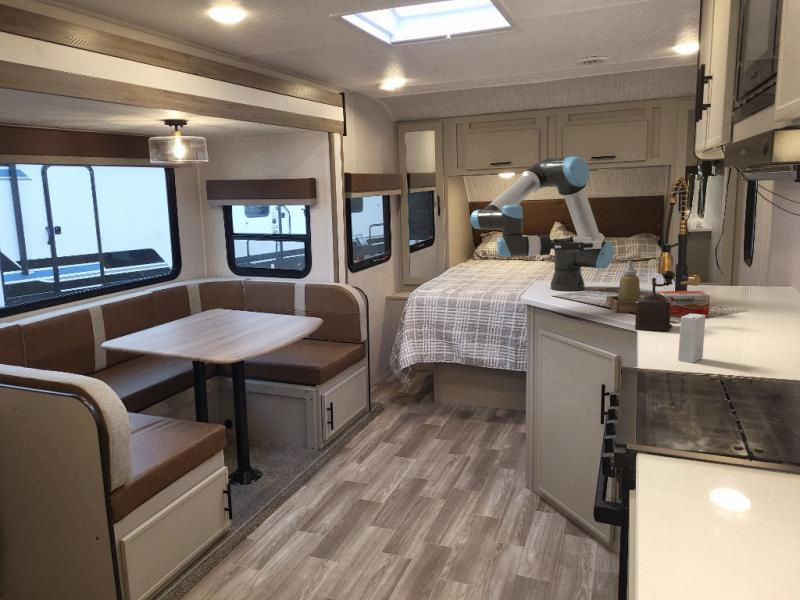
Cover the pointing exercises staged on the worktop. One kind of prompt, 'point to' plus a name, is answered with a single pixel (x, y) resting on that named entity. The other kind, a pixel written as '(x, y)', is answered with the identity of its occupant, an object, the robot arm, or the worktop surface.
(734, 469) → the worktop surface
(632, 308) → the walnut well
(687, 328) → the skincare box
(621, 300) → the squeeze bottle
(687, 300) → the medicine box
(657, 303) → the manual coffee grinder
